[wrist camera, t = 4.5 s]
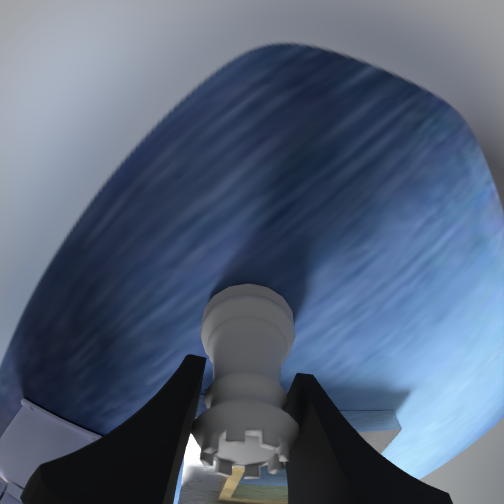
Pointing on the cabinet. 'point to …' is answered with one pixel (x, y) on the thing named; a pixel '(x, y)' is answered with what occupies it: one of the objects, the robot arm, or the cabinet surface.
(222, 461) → the rook chess piece
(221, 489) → the white stepped block
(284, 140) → the cabinet surface
